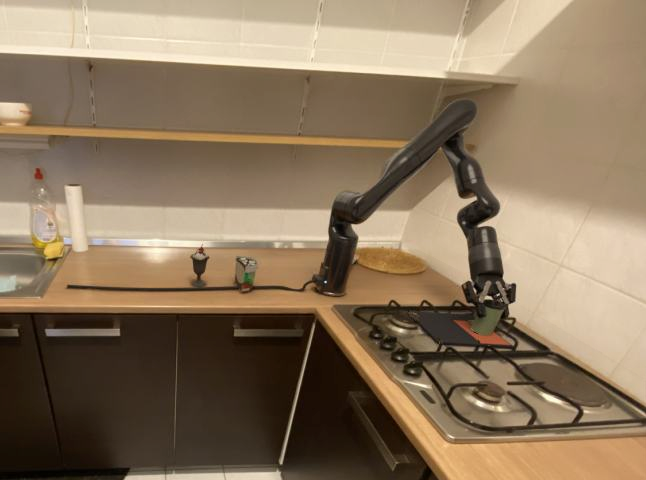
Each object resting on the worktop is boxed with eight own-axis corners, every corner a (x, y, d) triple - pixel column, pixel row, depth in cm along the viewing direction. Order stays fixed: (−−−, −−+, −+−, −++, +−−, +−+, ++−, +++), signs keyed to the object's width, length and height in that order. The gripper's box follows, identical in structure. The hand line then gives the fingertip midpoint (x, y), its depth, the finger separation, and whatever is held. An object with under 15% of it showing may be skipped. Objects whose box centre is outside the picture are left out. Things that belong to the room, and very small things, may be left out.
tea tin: (476, 335, 108) (490, 306, 104) (466, 326, 113) (479, 298, 108) (496, 336, 108) (511, 307, 103) (484, 327, 113) (498, 299, 108)
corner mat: (437, 344, 105) (439, 341, 104) (406, 313, 122) (407, 310, 122) (512, 348, 104) (514, 345, 104) (470, 316, 122) (471, 314, 121)
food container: (260, 294, 131) (264, 266, 126) (242, 295, 130) (246, 266, 125) (249, 281, 142) (252, 254, 136) (233, 281, 141) (236, 255, 136)
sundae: (199, 289, 133) (202, 246, 126) (185, 283, 137) (187, 242, 129) (211, 284, 137) (214, 242, 130) (197, 279, 141) (199, 238, 134)
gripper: (500, 269, 114) (508, 323, 110) (451, 267, 114) (457, 320, 110) (521, 257, 107) (531, 314, 102) (468, 254, 107) (476, 312, 103)
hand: (493, 317), depth 106 cm, fingers closed on tea tin, 5 cm apart
